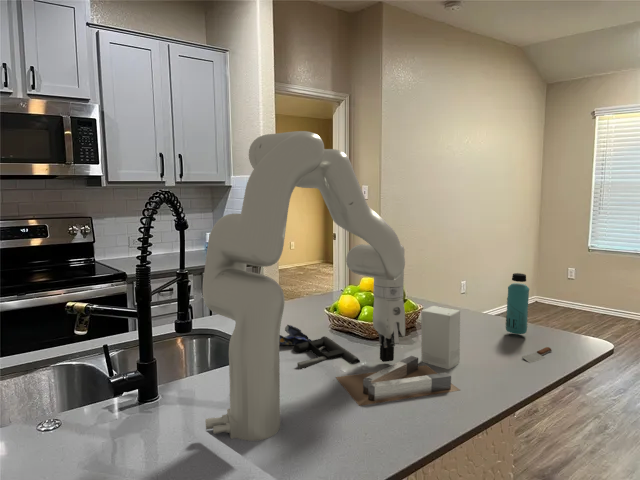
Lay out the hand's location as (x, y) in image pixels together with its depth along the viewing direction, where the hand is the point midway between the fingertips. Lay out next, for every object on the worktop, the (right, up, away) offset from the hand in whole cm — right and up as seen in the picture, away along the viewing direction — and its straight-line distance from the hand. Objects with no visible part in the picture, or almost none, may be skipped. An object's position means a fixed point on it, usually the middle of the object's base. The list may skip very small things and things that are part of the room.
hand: (386, 360), depth 122 cm
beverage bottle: (+45, +1, +27) cm, 52 cm away
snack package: (-26, 0, +20) cm, 32 cm away
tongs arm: (0, -2, -10) cm, 10 cm away
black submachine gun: (-17, -2, +7) cm, 19 cm away
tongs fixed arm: (+3, -3, -16) cm, 17 cm away
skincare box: (+14, -3, +2) cm, 15 cm away
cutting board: (+1, -4, -11) cm, 12 cm away
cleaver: (+45, -2, +10) cm, 46 cm away
